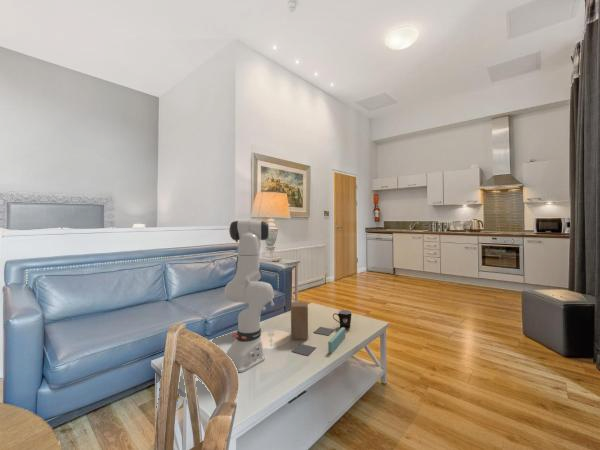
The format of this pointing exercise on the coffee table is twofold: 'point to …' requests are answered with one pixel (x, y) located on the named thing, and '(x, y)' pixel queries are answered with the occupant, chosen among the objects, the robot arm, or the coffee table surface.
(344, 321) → the coffee mug
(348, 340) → the coffee table surface
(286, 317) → the coffee table surface
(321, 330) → the mats
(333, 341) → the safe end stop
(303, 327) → the block
